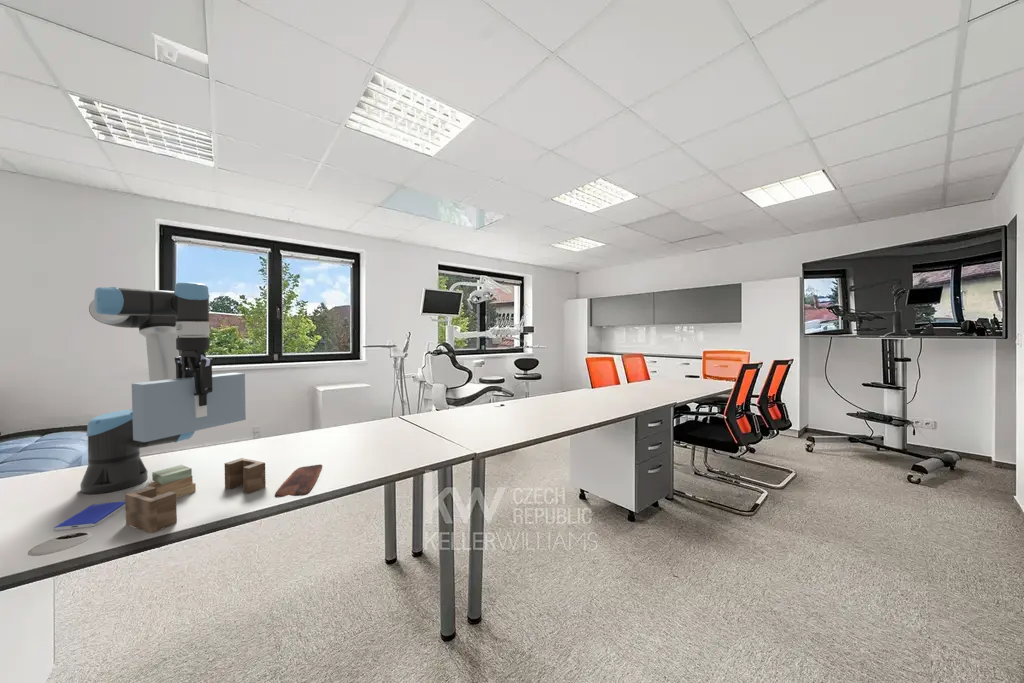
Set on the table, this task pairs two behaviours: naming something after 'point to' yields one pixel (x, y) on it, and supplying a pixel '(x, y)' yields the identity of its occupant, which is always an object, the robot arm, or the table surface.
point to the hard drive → (91, 515)
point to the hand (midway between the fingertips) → (194, 415)
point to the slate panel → (185, 406)
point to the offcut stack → (173, 481)
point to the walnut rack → (161, 509)
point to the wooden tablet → (299, 481)
